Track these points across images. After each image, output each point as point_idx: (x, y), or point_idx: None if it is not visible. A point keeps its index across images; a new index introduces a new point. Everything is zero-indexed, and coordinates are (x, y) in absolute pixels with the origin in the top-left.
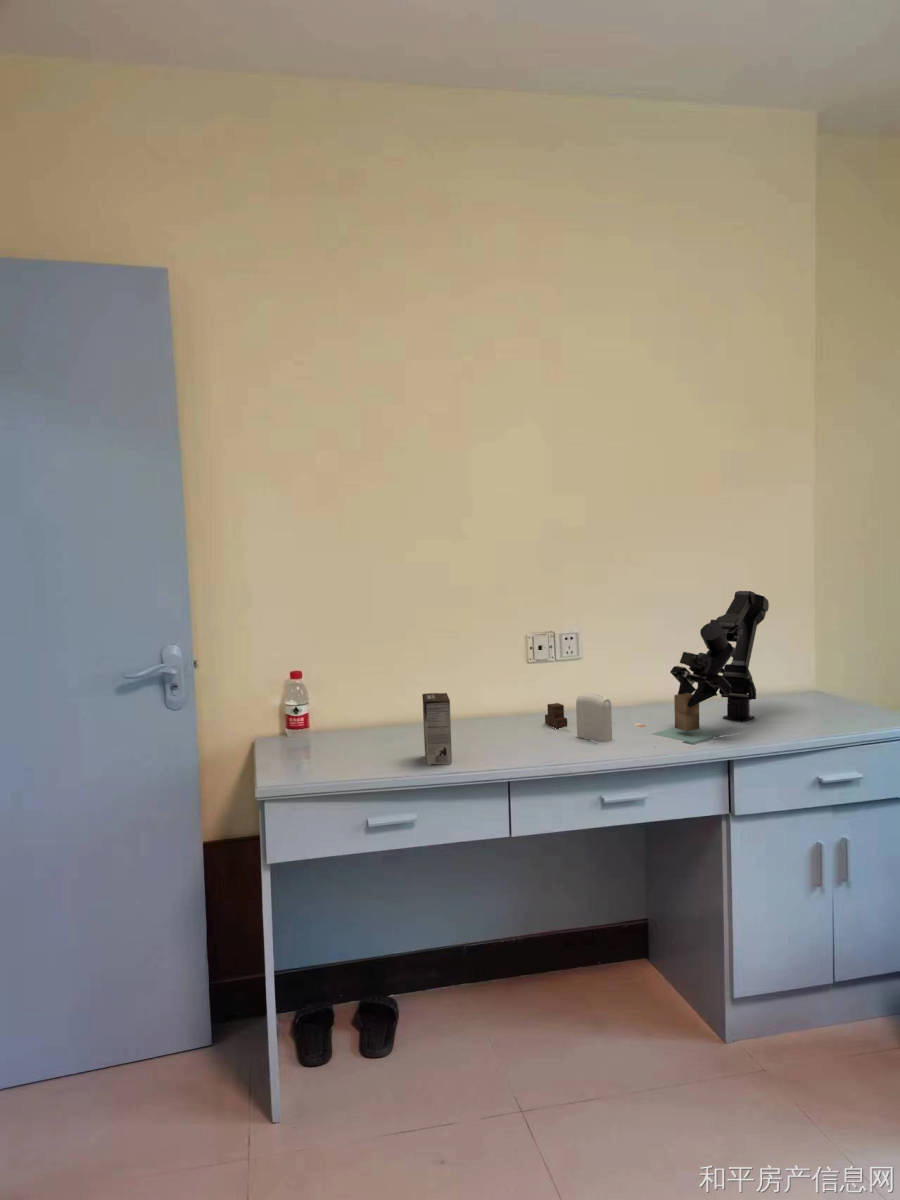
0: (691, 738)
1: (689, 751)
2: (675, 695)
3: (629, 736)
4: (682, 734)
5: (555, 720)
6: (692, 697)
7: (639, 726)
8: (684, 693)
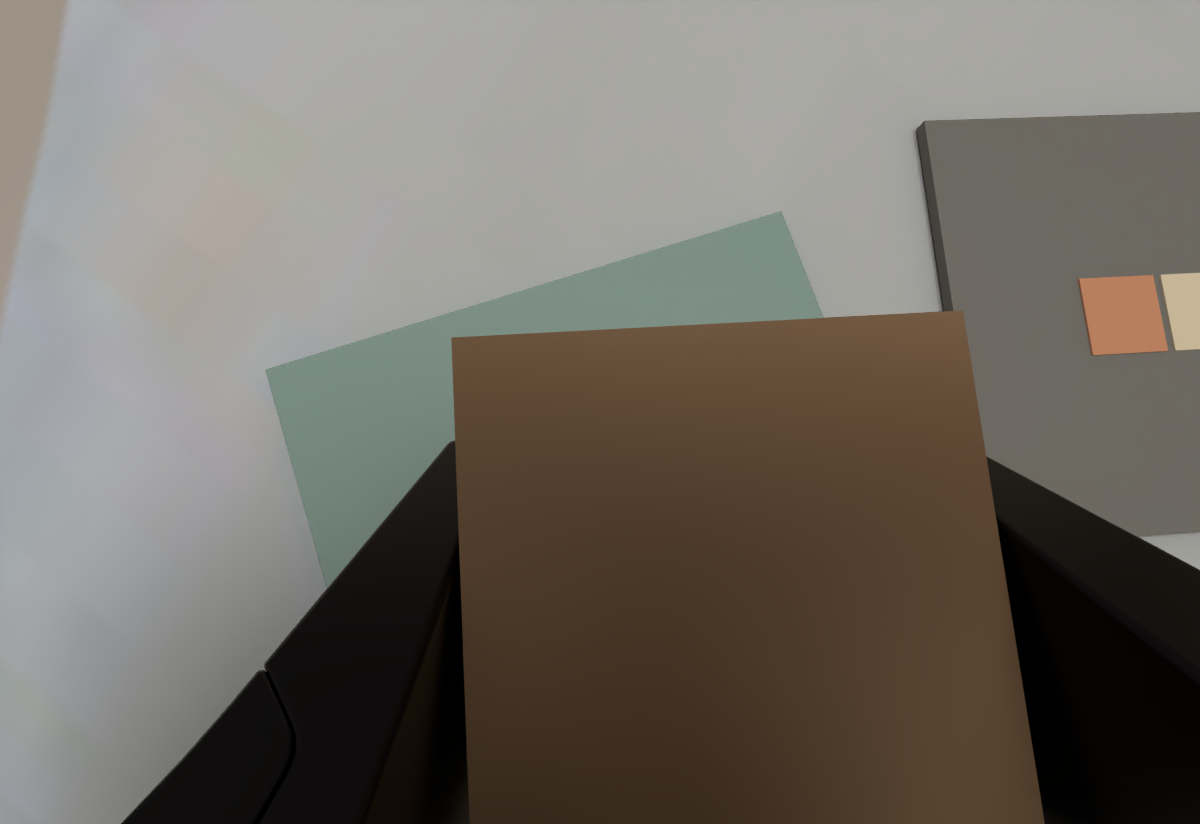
0: (417, 459)
1: (83, 187)
2: (914, 317)
3: (837, 23)
4: None
5: None
6: (393, 569)
7: (1110, 276)
8: (1047, 724)
